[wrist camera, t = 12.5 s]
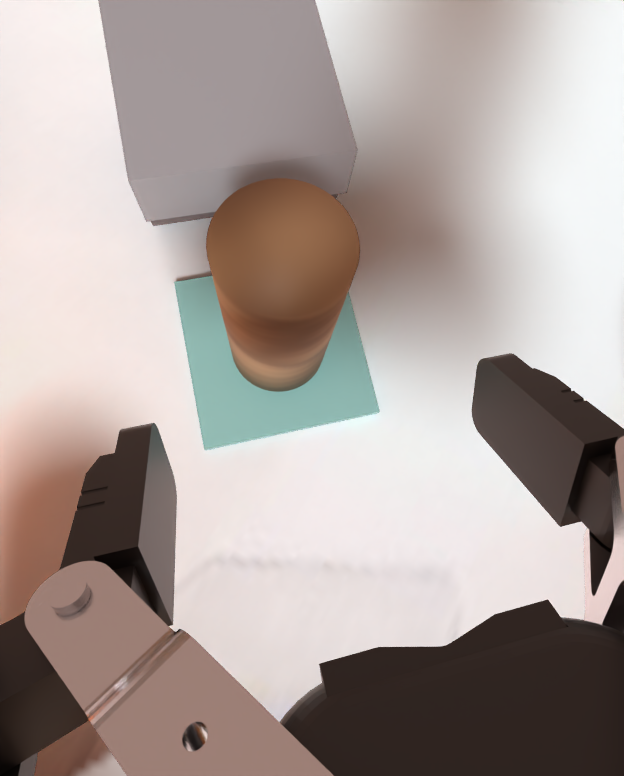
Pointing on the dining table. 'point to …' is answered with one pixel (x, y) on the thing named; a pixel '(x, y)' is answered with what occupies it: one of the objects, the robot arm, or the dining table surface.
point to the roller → (281, 277)
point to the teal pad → (258, 406)
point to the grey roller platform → (223, 100)
